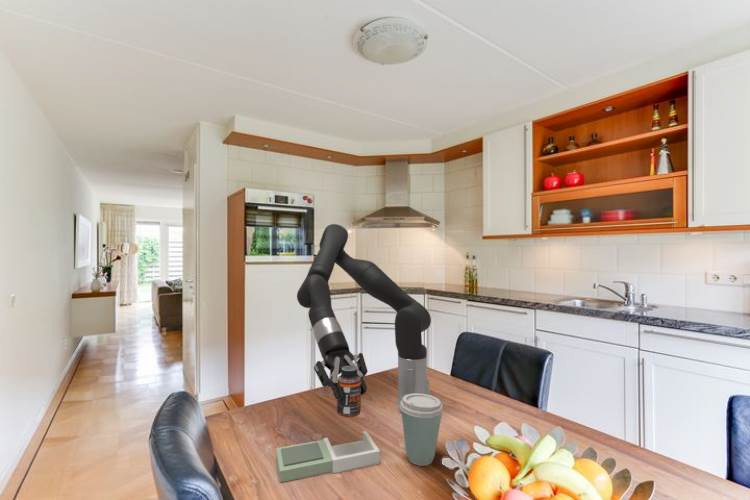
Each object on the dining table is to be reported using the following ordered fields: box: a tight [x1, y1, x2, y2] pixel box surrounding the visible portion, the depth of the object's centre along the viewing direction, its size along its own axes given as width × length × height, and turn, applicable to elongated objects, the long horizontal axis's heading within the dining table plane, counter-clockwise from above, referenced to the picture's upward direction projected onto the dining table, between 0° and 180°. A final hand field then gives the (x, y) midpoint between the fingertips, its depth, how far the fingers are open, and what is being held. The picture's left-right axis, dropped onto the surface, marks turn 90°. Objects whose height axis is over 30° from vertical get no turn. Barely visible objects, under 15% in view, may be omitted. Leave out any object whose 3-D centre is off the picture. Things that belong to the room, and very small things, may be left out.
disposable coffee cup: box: [399, 393, 444, 467], centre depth 90 cm, size 11×11×15 cm
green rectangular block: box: [275, 439, 333, 484], centre depth 88 cm, size 12×10×3 cm
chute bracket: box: [323, 430, 381, 474], centre depth 91 cm, size 12×10×3 cm
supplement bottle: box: [336, 366, 362, 418], centre depth 92 cm, size 6×6×11 cm
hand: (352, 396), depth 90 cm, fingers closed on supplement bottle, 6 cm apart
